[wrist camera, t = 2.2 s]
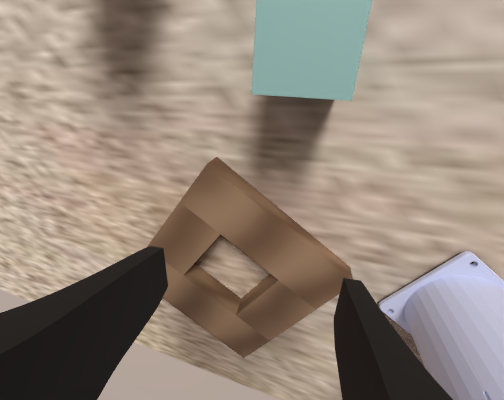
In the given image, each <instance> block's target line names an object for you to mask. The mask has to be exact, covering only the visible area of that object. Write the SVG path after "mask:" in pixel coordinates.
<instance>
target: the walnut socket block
mask: <svg viewBox="0 0 504 400" xmlns="http://www.w3.org/2000/svg"><path fill="white" fill-rule="evenodd" d="M220 234H221V235H222V236H223V237H225V238H226V239H227V240H228V241H230V242H231V243H232V244H234V245H235V246H236V247H237V248H239V249H240V250H241V251H242V252H244V253H245V254H246V255H247V256H249V257H250V258H251V259H252V260H254V261H255V262H256V263H258V264H259V265H260V266H261V267H263V268H264V269H265V270H266V271H268V272H269V273H270V275H269V276H268V277H266V278H265V279H264V280H263V281H262V282H261V283H259V284H258V285H257V286H256V287H255V288H254V289H252V290H251V291H250V292H249V293H248V294H247V295H245V296H244V297H243V298H242V299H241V298H239V297H238V296H237V295H235V294H234V293H233V292H232V291H230V290H229V289H228V288H226V287H225V286H224V285H222V284H221V283H220V282H218V281H217V280H216V279H215V278H213V277H212V276H211V275H209V274H208V273H207V272H205V271H204V270H203V269H202V268H200V267H199V266H198V265H196V264H195V262H196V261H197V260H198V259H199V258H200V256H201V255H202V254H203V253H204V252H205V251H206V250H207V249H208V248H209V246H210V245H211V244H212V243H213V242H214V241H215V240H216V239H217V238H218V236H219V235H220ZM149 246H154V247H160V248H164V256H165V264H166V272H167V280H168V288H167V290H166V292H165V294H164V296H163V299H165V300H166V301H167V302H169V303H170V304H171V305H173V306H174V307H175V308H177V309H178V310H180V311H181V312H182V313H184V314H185V315H186V316H188V317H189V318H190V319H192V320H193V321H194V322H196V323H197V324H199V325H200V326H201V327H203V328H204V329H205V330H207V331H208V332H209V333H211V334H212V335H213V336H215V337H216V338H218V339H219V340H220V341H222V342H223V343H224V344H226V345H227V346H228V347H230V348H231V349H232V350H234V351H235V352H237V353H238V354H239V355H241V356H242V357H243V358H245V357H246V356H248V355H249V354H251V353H252V352H253V351H255V350H256V349H258V348H259V347H261V346H262V345H264V344H265V343H267V342H268V341H270V340H271V339H273V338H274V337H276V336H277V335H279V334H280V333H282V332H283V331H285V330H286V329H288V328H289V327H291V326H292V325H294V324H295V323H297V322H298V321H300V320H301V319H303V318H304V317H305V316H307V315H308V314H310V313H311V312H313V311H314V310H316V309H317V308H319V307H320V306H322V305H323V304H325V303H326V302H328V301H329V300H331V299H332V298H334V297H335V296H337V295H338V294H340V290H341V286H342V282H343V278H347V279H353V278H352V274H351V269H350V267H349V266H348V265H347V264H346V263H344V262H343V261H342V260H341V259H340V258H338V257H337V256H336V255H335V254H334V253H332V252H331V251H330V250H329V249H328V248H326V247H325V246H324V245H323V244H321V243H320V242H319V241H318V240H317V239H315V238H314V237H313V236H312V235H311V234H309V233H308V232H307V231H306V230H305V229H303V228H302V227H301V226H300V225H299V224H297V223H296V222H295V221H294V220H292V219H291V218H290V217H289V216H288V215H286V214H285V213H284V212H283V211H282V210H280V209H279V208H278V207H277V206H276V205H274V204H273V203H272V202H271V201H269V200H268V199H267V198H266V197H265V196H263V195H262V194H261V193H260V192H259V191H257V190H256V189H255V188H254V187H253V186H251V185H250V184H249V183H248V182H247V181H245V180H244V179H243V178H242V177H240V176H239V175H238V174H237V173H236V172H234V171H233V170H232V169H231V168H230V167H228V166H227V165H226V164H225V163H224V162H222V161H221V160H220V159H219V158H218V157H216V158H214V159H213V160H212V161H210V162H209V163H208V164H207V165H206V166H205V168H204V169H203V170H202V172H201V173H200V174H199V176H198V177H197V179H196V180H195V181H194V183H193V184H192V186H191V187H190V188H189V190H188V191H187V192H186V194H185V195H184V197H183V198H182V199H181V201H180V202H179V204H178V205H177V206H176V208H175V209H174V211H173V212H172V213H171V215H170V216H169V217H168V219H167V220H166V222H165V223H164V224H163V226H162V227H161V229H160V230H159V231H158V233H157V234H156V235H155V237H154V238H153V240H152V241H151V242H150V244H149V245H148V247H149Z"/></svg>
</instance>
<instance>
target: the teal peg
mask: <svg viewBox="0 0 504 400" xmlns="http://www.w3.org/2000/svg"><path fill="white" fill-rule="evenodd" d="M371 3H372V0H256V18H255V38H254V59H253V79H252V94H255V95H271V96H287V97H302V98H318V99H333V100H349V101H352V97H353V92H354V87H355V82H356V77H357V72H358V68H359V63H360V58H361V53H362V48H363V43H364V38H365V33H366V28H367V23H368V18H369V13H370V8H371Z"/></svg>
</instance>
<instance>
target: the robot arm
mask: <svg viewBox="0 0 504 400" xmlns="http://www.w3.org/2000/svg"><path fill="white" fill-rule="evenodd" d="M473 261H475V262H474V263H472V264H470V263H471V262H473ZM167 288H168V280H167V272H166V264H165V256H164V248H160V247H154V246H149V247H147V248H144V249H142V250H140V251H138V252H136V253H134V254H132V255H130V256H128V257H127V258H125V259H123V260H121V261H119V262H117V263H115V264H113V265H111V266H109V267H107V268H105V269H103V270H101V271H99V272H97V273H95V274H93V275H91V276H89V277H87V278H85V279H83V280H81V281H79V282H76V283H74V284H72V285H70V286H68V287H66V288H64V289H61V290H59V291H57V292H54V293H52V294H50V295H47V296H45V297H42V298H40V299H37V300H35V301H32V302H30V303H27V304H25V305H22V306H19V307H16V308H14V309H11V310H8V311H5V312H2V313H0V400H97V399H98V397H99V395H100V394H101V392H102V390H103V388H104V387H105V385H106V383H107V382H108V380H109V378H110V376H111V375H112V373H113V371H114V370H115V368H116V367H117V365H118V364H119V362H120V361H121V359H122V358H123V356H124V355H125V353H126V352H127V350H128V349H129V348H130V346H131V345H132V343H133V342H134V341H135V339H136V338H137V336H138V335H139V333H140V332H141V331H142V329H143V328H144V326H145V325H146V323H147V322H148V321H149V319H150V318H151V316H152V315H153V313H154V312H155V310H156V309H157V307H158V305H159V303H160V301H161V300H162V298H163V296H164V294H165V292H166V290H167ZM389 309H392V310H389ZM383 312H384V313H385V314H386V315H387V316H389V317H390V318H391V319H392V320H393V321H395V322H396V323H397V324H398V325H400V326H401V327H402V328H403V329H404V330H406V331H407V332H408V333H409V334H411V335H412V337H413V340H414V342H415V345H416V347H417V350H418V352H419V354H420V357H421V359H422V362H423V364H424V366H423V365H422V364H421V362H420V361H419V360H418V359H417V357H416V356H415V355H414V354H413V352H412V351H411V350H410V349H409V347H408V346H407V345H406V344H405V342H404V341H403V340H402V338H401V337H400V336H399V334H398V333H397V332H396V330H395V329H394V328H393V326H392V325H391V323H390V322H389V321H388V319H387V318H386V317H385V315H384V314H383ZM334 338H335V351H336V358H337V365H338V372H339V378H340V385H341V392H342V398H343V400H504V280H502V279H501V278H500V277H499V276H498V275H497V274H496V273H495V272H493V271H492V270H491V269H490V268H489V267H488V266H487V265H486V264H484V263H483V262H482V261H481V260H480V259H479V258H478V257H477V256H476V255H474V254H473V253H472V252H468V251H467V252H463V253H460V254H459V255H457V256H455V257H454V258H452V259H450V260H449V261H447V262H445V263H444V264H442V265H440V266H439V267H437V268H435V269H434V270H432V271H430V272H429V273H427V274H425V275H424V276H422V277H420V278H419V279H417V280H415V281H414V282H412V283H410V284H409V285H407V286H405V287H404V288H402V289H400V290H399V291H397V292H395V293H394V294H392V295H390V296H389V297H387V298H385V299H384V300H382V301H381V302H379V306H378V305H377V304H376V302H375V301H374V299H373V298H372V296H371V295H370V293H369V292H368V290H367V289H366V287H365V286H364V284H363V283H362V282H361V281H359V280H353V279H347V278H343V282H342V286H341V290H340V295H339V299H338V303H337V307H336V311H335V315H334Z"/></svg>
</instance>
